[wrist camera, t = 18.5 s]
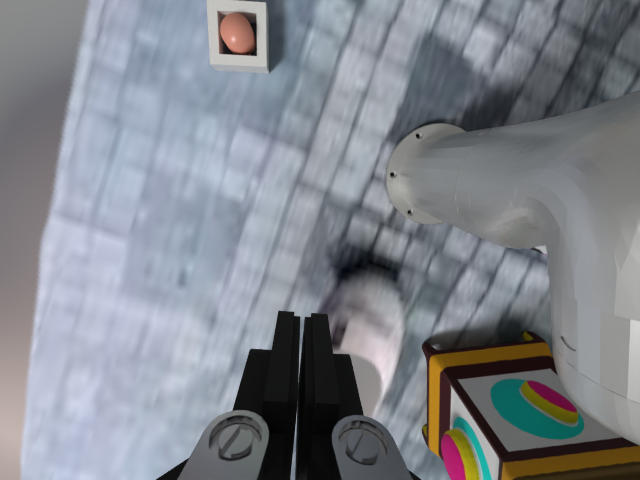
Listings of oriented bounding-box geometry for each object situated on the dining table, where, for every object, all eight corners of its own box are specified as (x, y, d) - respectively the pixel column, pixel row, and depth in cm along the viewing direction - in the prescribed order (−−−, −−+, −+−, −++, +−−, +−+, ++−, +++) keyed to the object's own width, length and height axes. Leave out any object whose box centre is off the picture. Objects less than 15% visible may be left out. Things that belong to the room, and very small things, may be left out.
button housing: (268, 13, 34) (266, 2, 31) (269, 73, 36) (266, 67, 33) (213, 10, 34) (206, -2, 31) (216, 70, 35) (210, 63, 33)
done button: (255, 26, 34) (251, 14, 31) (256, 58, 35) (252, 49, 32) (226, 24, 34) (219, 12, 31) (227, 56, 35) (221, 47, 32)
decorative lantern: (411, 438, 51) (556, 804, 22) (410, 334, 46) (597, 636, 17) (528, 423, 52) (815, 762, 23) (540, 319, 46) (933, 586, 18)
